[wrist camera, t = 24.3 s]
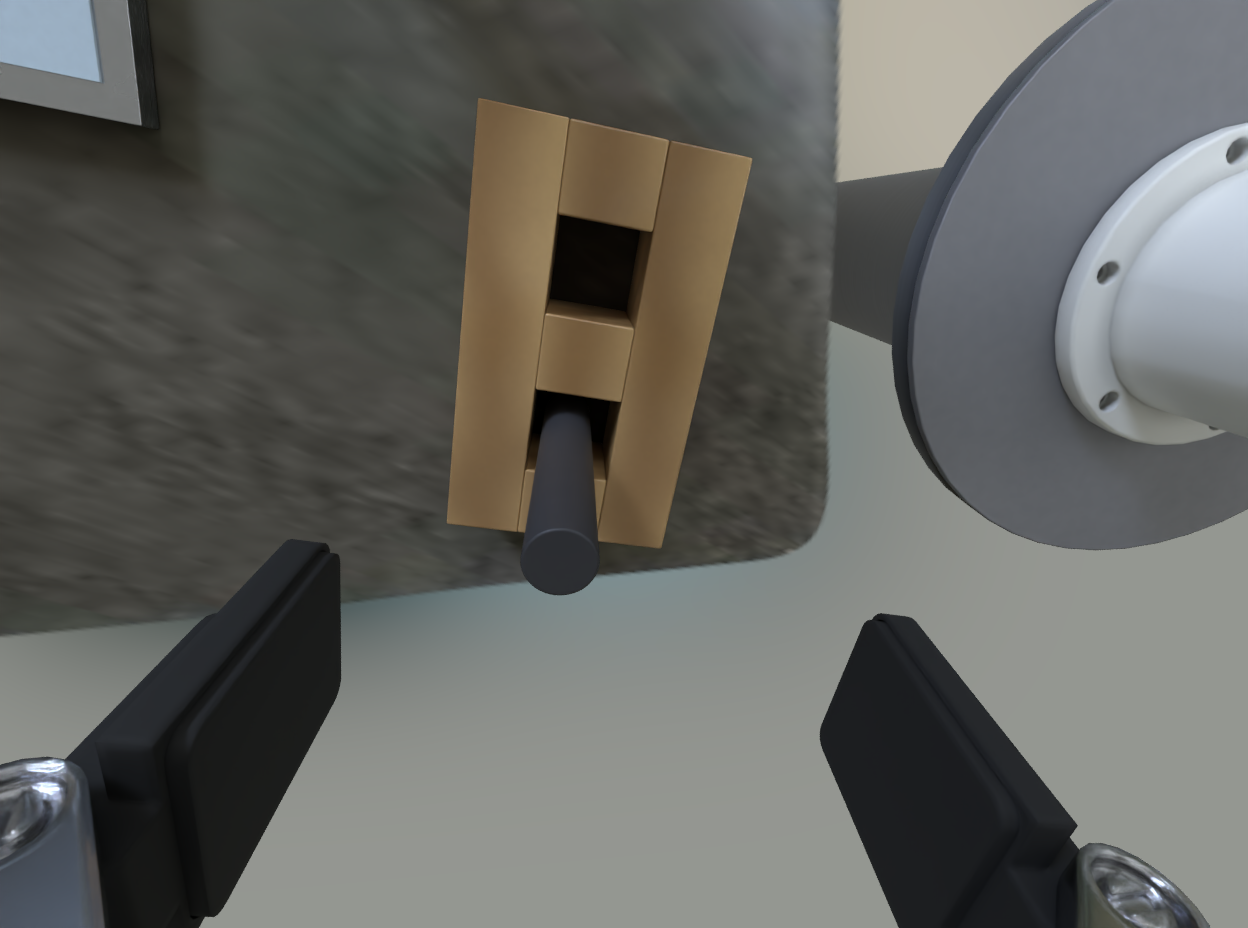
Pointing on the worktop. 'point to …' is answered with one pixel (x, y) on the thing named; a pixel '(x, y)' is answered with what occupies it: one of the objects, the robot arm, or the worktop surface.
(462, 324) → the holder
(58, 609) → the worktop surface
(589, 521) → the stylus
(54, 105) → the tablet
